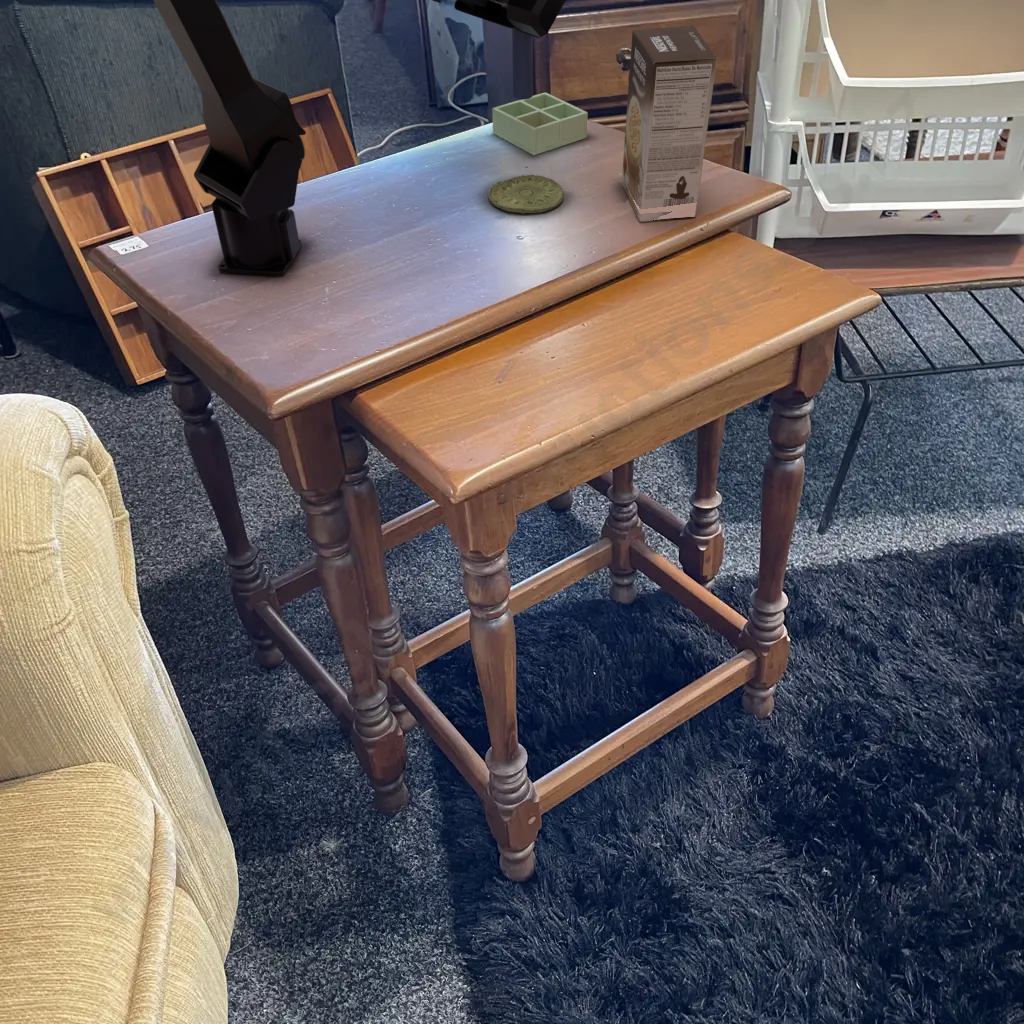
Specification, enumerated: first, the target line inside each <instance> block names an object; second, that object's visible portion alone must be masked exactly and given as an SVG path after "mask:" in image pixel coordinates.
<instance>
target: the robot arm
mask: <svg viewBox="0 0 1024 1024" xmlns="http://www.w3.org/2000/svg"><path fill="white" fill-rule="evenodd" d="M152 1H153V2H154V5H155V7H156V8H157V9H158V12H159V14H160V16H161V18H162V20H163V22H164V24H165V25H166V27H167V29H168V31H169V34H170V35H171V37H172V39H173V41H174V43H175V44H176V47H177V48H178V50H179V52H180V54H181V56H182V57H183V60H184V62H185V64H186V65H187V67H188V69H189V71H190V73H191V75H192V77H193V79H194V80H195V82H196V85H197V86H198V88H199V91H200V93H201V97H202V98H201V99H202V100H201V101H202V119H203V120H202V121H203V123H204V125H205V129H206V133H207V136H208V138H209V141H210V142H209V144H208V146H207V148H206V150H205V152H204V153H203V155H202V157H201V159H200V161H199V163H198V165H197V166H196V169H195V170H194V173H193V177H194V179H195V181H196V182H197V184H198V185H199V187H200V188H201V190H202V191H203V192H204V193H205V194H209V195H210V196H212V197H214V198H215V199H213V201H212V203H211V204H210V206H211V210H212V213H213V218H214V223H215V226H216V231H217V235H218V240H219V244H220V248H221V252H222V256H223V258H222V259H221V261H220V262H219V263H218V265H217V269H218V272H220V273H227V274H241V275H242V274H243V275H244V274H245V275H254V276H255V275H257V276H258V275H259V276H271V277H280V276H284V274H285V273H286V272H287V270H288V268H289V266H290V265H291V263H292V262H293V261H294V259H295V258H296V256H297V254H298V253H299V251H300V249H301V246H302V240H301V239H300V238H299V232H298V227H297V226H298V225H297V220H296V215H295V211H294V210H293V209H292V207H294V206H295V202H296V194H297V190H298V180H299V175H300V169H301V167H302V164H303V160H304V159H305V158H306V148H305V146H304V145H305V144H304V142H303V139H302V137H301V136H305V135H306V134H307V132H306V130H305V129H304V128H302V127H303V126H301V125H300V124H299V122H298V120H297V118H296V116H295V113H294V109H293V105H292V102H291V101H290V98H289V96H288V94H287V93H286V92H285V91H282V90H281V89H279V88H276V87H274V86H272V85H270V84H268V83H265V82H263V81H261V80H259V79H257V78H255V77H253V74H252V72H251V70H250V68H249V66H248V64H247V62H246V60H245V58H244V56H243V54H242V52H241V49H240V47H239V45H238V43H237V41H236V39H235V36H234V34H233V32H232V30H231V28H230V26H229V24H228V22H227V20H226V18H225V15H224V14H223V12H222V8H221V7H220V5H219V3H218V1H217V0H152ZM432 1H433V2H436V3H438V4H441V3H442V1H443V0H431V2H432ZM566 1H567V0H455V2H454V4H453V5H454V9H455V11H458V12H461V13H464V14H466V15H469V16H473V17H476V18H478V19H481V20H484V21H486V22H490V23H494V24H496V25H498V26H501V27H504V28H507V29H510V30H512V29H513V30H516V31H519V32H522V33H525V34H528V35H531V36H533V38H537V39H539V38H542V37H544V36H545V35H547V34H549V32H550V30H551V28H552V27H553V24H554V23H555V21H556V19H557V18H558V15H559V14H560V12H561V10H562V8H563V6H564V5H565V3H566Z"/></svg>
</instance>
